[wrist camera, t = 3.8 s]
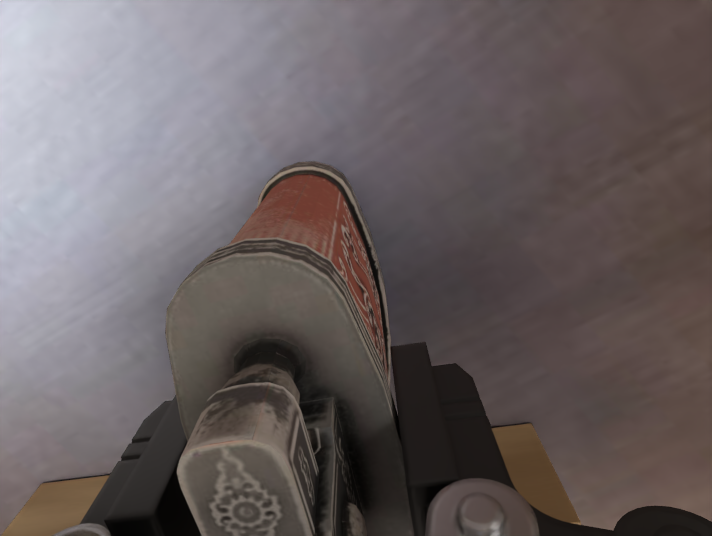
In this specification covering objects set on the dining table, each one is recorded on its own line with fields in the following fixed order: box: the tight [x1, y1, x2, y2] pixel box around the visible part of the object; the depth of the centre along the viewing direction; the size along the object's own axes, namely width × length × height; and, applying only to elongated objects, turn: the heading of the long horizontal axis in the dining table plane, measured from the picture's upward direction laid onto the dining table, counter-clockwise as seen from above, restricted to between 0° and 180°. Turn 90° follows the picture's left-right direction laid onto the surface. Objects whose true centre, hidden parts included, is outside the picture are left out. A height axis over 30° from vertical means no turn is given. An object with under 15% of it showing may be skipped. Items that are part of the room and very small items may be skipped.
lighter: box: [165, 162, 414, 536], centre depth 10 cm, size 8×3×10 cm, turn 11°
